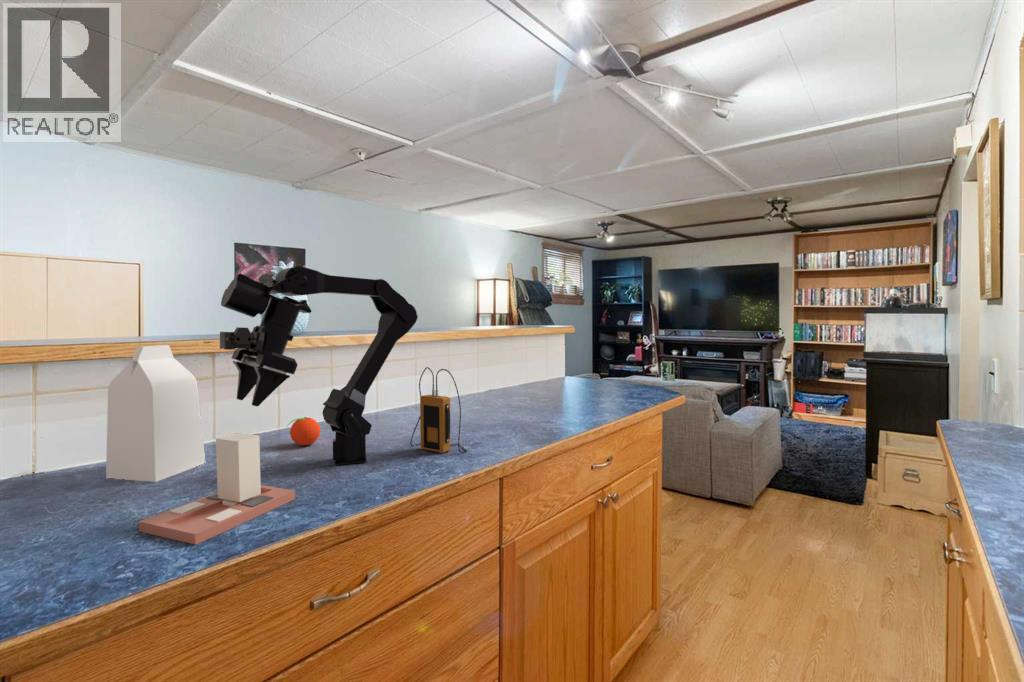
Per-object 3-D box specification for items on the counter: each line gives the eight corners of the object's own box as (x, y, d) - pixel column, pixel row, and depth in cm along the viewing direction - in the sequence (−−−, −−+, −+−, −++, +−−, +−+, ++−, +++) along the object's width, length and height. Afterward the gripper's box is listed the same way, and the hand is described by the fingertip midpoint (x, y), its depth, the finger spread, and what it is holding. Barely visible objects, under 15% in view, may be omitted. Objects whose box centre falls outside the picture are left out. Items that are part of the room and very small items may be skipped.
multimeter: (481, 446, 118) (480, 366, 117) (455, 456, 110) (454, 369, 108) (436, 438, 126) (435, 362, 125) (408, 447, 117) (407, 366, 116)
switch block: (244, 490, 88) (244, 481, 88) (295, 499, 84) (295, 489, 84) (139, 531, 71) (138, 520, 71) (195, 544, 67) (195, 533, 67)
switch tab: (239, 495, 83) (237, 433, 83) (261, 499, 81) (259, 435, 81) (218, 504, 79) (215, 438, 79) (240, 508, 78) (238, 441, 77)
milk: (155, 481, 93) (150, 348, 91) (106, 478, 95) (100, 347, 93) (205, 463, 105) (201, 344, 103) (160, 460, 107) (156, 343, 105)
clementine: (286, 451, 114) (286, 421, 114) (284, 444, 120) (283, 416, 120) (322, 446, 118) (321, 418, 118) (318, 440, 124) (318, 413, 124)
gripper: (220, 311, 96) (188, 386, 92) (250, 310, 82) (214, 397, 79) (275, 330, 103) (247, 400, 100) (311, 332, 90) (280, 413, 87)
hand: (246, 402), depth 91 cm, fingers open, 9 cm apart
